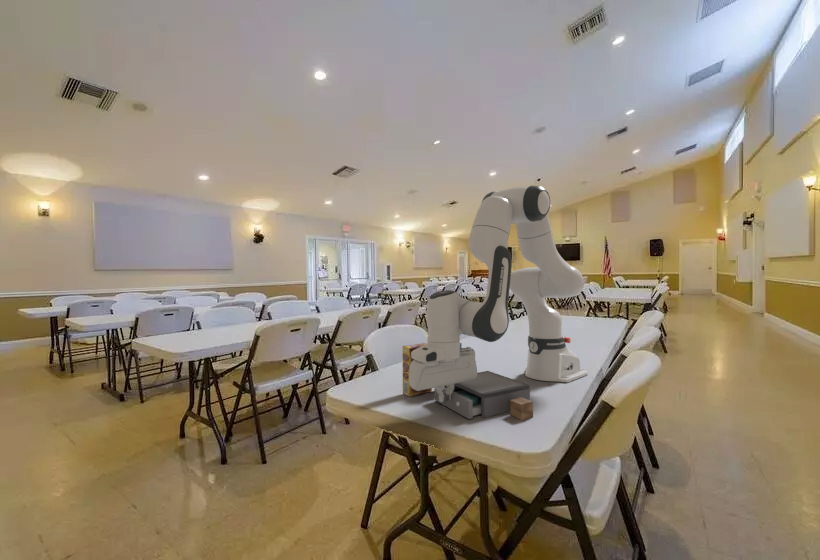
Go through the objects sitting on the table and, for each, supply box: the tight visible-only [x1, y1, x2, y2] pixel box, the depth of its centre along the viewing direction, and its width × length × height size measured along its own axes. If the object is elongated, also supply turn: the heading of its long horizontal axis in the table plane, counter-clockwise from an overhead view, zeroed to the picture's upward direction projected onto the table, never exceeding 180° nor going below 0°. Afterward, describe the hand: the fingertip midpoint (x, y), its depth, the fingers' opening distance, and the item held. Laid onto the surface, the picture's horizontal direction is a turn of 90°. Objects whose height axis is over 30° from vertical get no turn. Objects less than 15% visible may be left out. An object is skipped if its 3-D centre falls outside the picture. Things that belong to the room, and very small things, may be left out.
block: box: [510, 397, 534, 421], centre depth 97 cm, size 4×4×4 cm
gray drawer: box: [434, 386, 482, 420], centre depth 106 cm, size 15×17×5 cm
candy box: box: [402, 342, 433, 398], centre depth 118 cm, size 9×4×15 cm, turn 125°
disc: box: [460, 393, 479, 406], centre depth 106 cm, size 6×6×2 cm
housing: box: [446, 370, 531, 418], centre depth 109 cm, size 16×18×6 cm
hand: (445, 400), depth 102 cm, fingers closed
